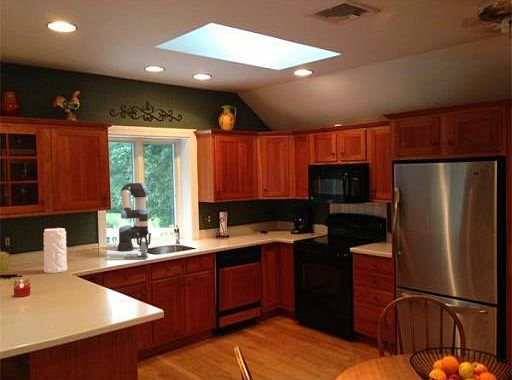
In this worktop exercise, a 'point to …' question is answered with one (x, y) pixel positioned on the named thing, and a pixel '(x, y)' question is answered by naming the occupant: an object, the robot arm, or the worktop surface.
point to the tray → (115, 258)
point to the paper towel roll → (55, 250)
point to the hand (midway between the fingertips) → (143, 252)
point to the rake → (143, 248)
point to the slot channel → (140, 257)
